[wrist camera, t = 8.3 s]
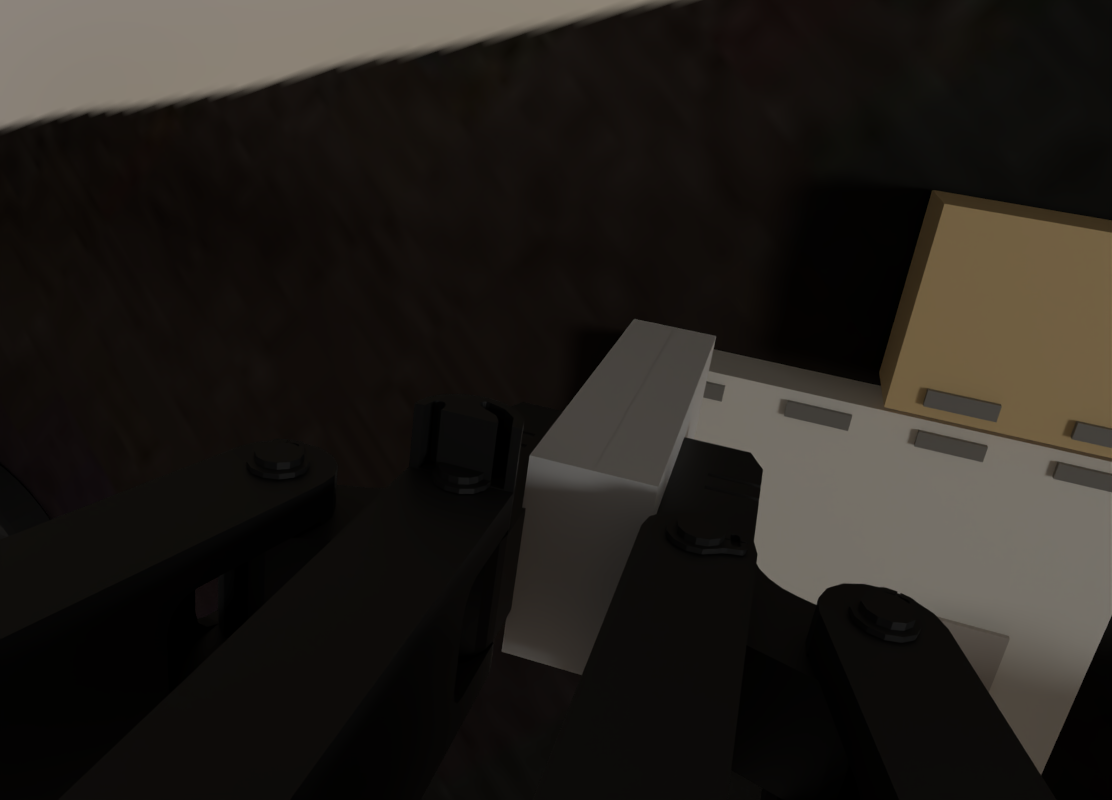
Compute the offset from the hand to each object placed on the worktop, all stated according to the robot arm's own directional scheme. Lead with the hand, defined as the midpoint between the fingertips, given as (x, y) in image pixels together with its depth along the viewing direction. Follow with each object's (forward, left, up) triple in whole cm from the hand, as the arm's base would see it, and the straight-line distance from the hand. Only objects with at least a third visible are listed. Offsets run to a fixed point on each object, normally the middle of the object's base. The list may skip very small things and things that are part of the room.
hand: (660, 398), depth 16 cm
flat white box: (+6, -9, -15) cm, 18 cm away
